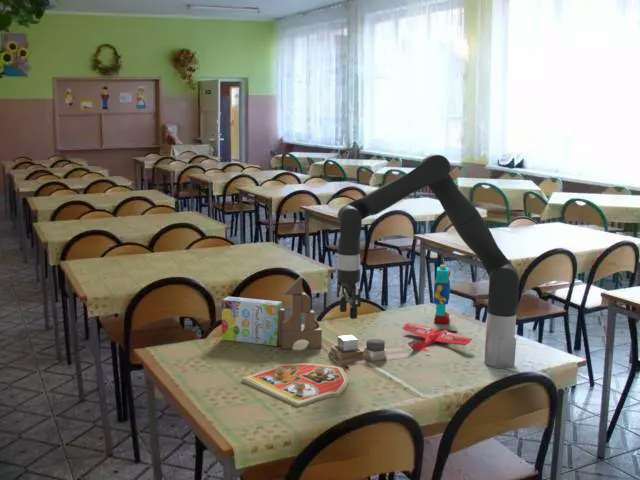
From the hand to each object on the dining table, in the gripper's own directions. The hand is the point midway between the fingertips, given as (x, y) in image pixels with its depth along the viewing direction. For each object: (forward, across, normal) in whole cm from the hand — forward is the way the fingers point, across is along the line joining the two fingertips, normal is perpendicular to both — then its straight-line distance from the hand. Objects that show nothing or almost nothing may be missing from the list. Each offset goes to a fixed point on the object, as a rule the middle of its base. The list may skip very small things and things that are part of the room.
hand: (348, 315), depth 246 cm
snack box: (+15, +27, +25) cm, 40 cm away
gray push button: (+14, -5, -8) cm, 16 cm away
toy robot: (+15, +28, -52) cm, 61 cm away
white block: (+14, 0, 0) cm, 14 cm away
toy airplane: (+16, +2, -32) cm, 36 cm away
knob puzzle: (+16, -15, +20) cm, 29 cm away
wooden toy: (+15, +17, +11) cm, 25 cm away
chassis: (+15, -2, -8) cm, 17 cm away
